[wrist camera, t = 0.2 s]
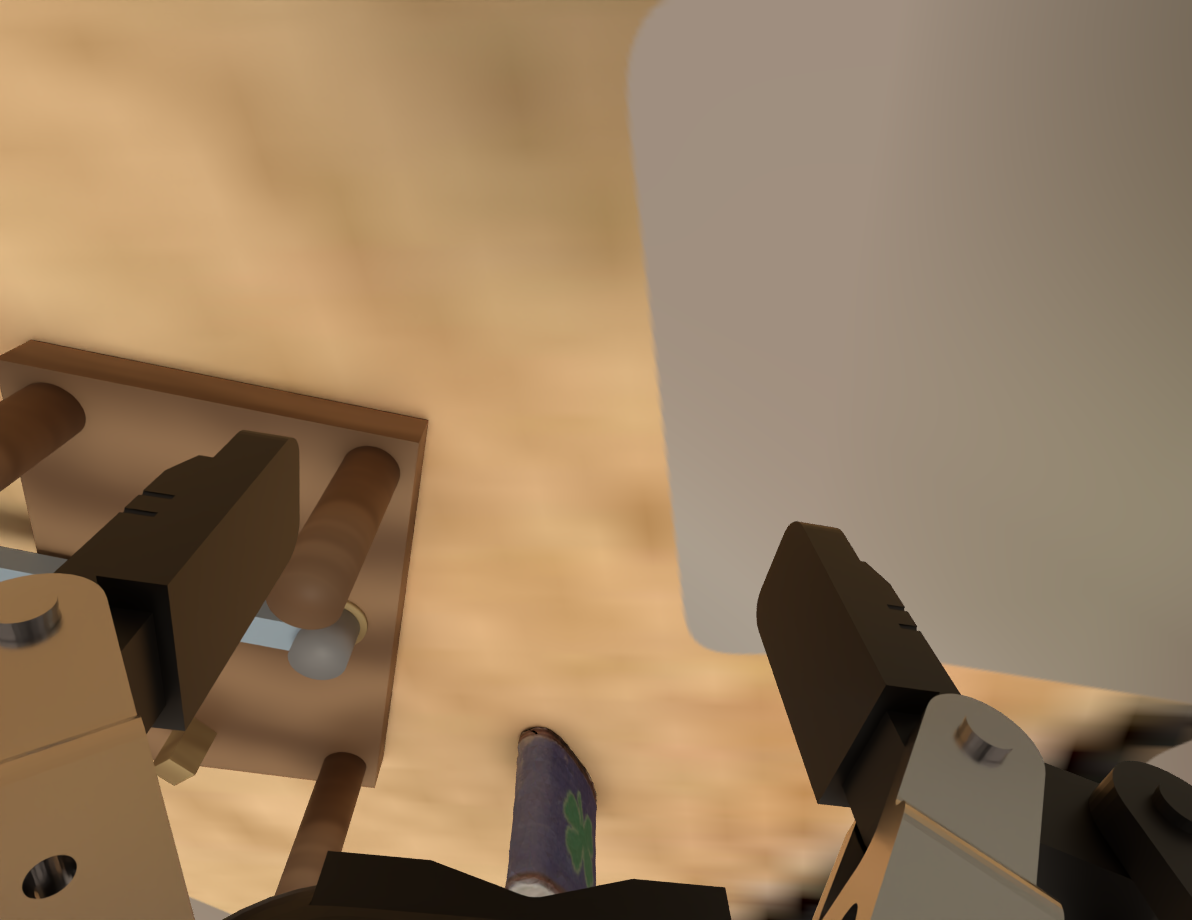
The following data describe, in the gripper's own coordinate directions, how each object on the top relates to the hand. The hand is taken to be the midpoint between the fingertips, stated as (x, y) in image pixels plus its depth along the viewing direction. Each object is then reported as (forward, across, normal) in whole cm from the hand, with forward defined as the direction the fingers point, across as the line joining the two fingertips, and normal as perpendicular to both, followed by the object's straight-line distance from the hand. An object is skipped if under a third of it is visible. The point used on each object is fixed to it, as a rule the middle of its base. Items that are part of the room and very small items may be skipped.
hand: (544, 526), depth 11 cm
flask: (+19, -6, +31) cm, 37 cm away
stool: (+18, +13, +19) cm, 29 cm away
